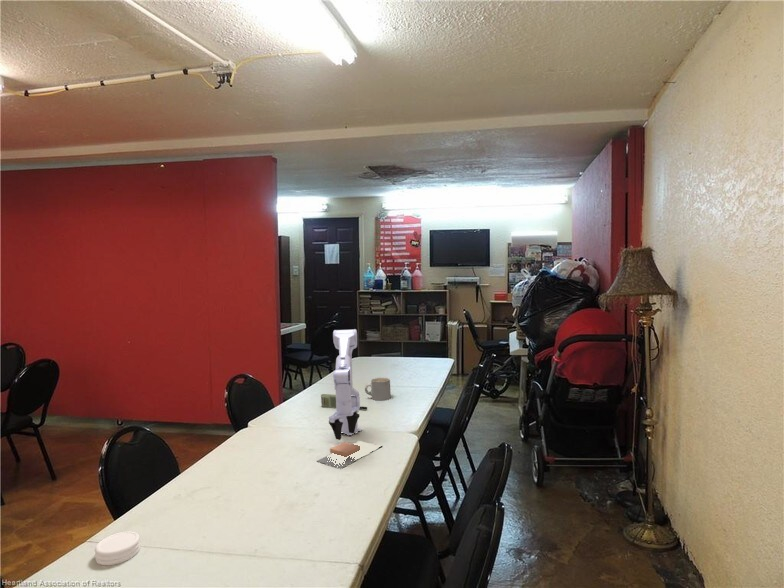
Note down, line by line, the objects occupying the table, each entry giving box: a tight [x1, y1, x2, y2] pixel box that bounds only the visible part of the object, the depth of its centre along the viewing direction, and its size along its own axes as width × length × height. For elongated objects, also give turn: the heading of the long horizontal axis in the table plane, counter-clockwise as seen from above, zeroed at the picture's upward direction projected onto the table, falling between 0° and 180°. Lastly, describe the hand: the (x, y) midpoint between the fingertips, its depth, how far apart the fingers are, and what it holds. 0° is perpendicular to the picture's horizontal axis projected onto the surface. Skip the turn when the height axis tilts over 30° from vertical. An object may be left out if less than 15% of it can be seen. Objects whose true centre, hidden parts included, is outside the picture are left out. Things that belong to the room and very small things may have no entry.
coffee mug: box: [364, 376, 392, 402], centre depth 256 cm, size 13×10×10 cm
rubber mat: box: [316, 455, 357, 469], centre depth 182 cm, size 12×24×1 cm, turn 144°
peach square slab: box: [329, 441, 360, 457], centre depth 184 cm, size 2×8×8 cm
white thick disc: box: [94, 530, 141, 566], centre depth 123 cm, size 10×10×4 cm
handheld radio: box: [320, 393, 368, 411], centre depth 240 cm, size 7×3×25 cm
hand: (345, 435), depth 183 cm, fingers open, 7 cm apart
